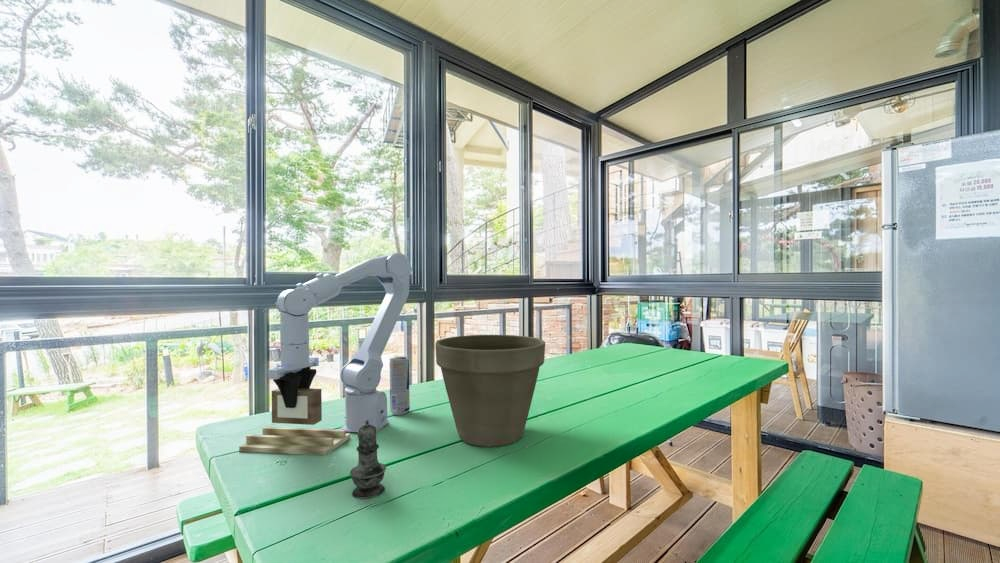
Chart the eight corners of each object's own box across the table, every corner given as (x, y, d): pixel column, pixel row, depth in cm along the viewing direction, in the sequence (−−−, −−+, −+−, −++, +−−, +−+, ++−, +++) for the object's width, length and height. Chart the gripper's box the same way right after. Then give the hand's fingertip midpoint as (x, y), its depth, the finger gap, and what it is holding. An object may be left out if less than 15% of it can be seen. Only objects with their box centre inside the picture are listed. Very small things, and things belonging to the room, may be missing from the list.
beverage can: (412, 410, 117) (411, 356, 117) (406, 416, 112) (405, 359, 112) (394, 410, 118) (393, 356, 118) (387, 415, 113) (386, 359, 113)
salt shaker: (355, 484, 74) (353, 415, 74) (389, 482, 75) (388, 413, 75) (345, 501, 68) (344, 426, 68) (383, 498, 69) (381, 424, 69)
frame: (321, 420, 94) (321, 388, 94) (313, 424, 91) (313, 392, 91) (281, 418, 96) (280, 387, 96) (271, 422, 93) (271, 390, 93)
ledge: (350, 437, 97) (350, 426, 97) (325, 455, 87) (325, 443, 87) (271, 434, 100) (271, 423, 100) (239, 451, 90) (239, 439, 90)
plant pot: (569, 433, 97) (567, 338, 97) (494, 469, 79) (491, 352, 79) (490, 412, 114) (489, 331, 114) (414, 437, 96) (412, 342, 96)
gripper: (299, 339, 101) (300, 395, 101) (254, 348, 87) (255, 414, 87) (326, 339, 100) (327, 396, 100) (285, 348, 86) (286, 415, 86)
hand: (296, 405), depth 94 cm, fingers closed on frame, 3 cm apart
